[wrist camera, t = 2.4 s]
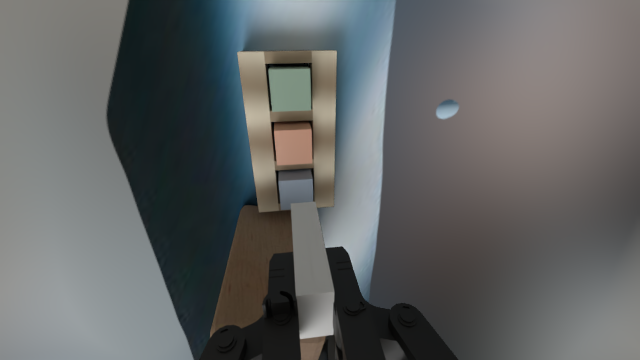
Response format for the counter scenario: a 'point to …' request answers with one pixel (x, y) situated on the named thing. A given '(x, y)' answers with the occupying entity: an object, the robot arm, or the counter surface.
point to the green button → (290, 88)
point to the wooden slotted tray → (262, 118)
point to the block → (256, 271)
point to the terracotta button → (293, 142)
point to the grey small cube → (295, 187)
